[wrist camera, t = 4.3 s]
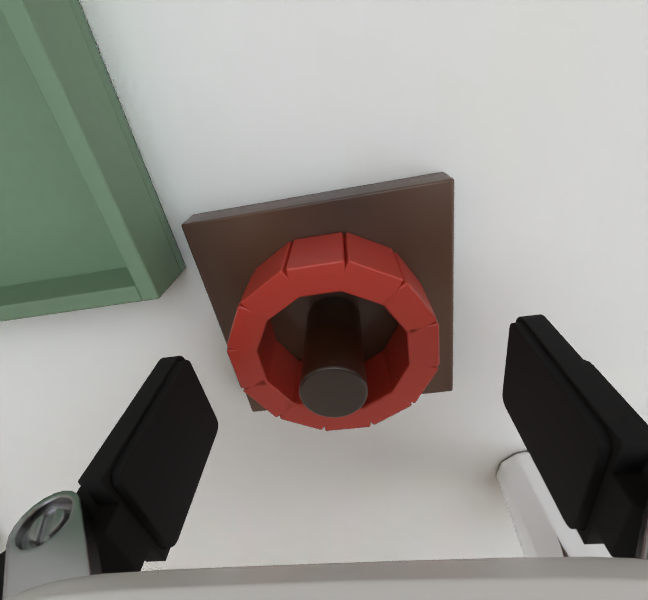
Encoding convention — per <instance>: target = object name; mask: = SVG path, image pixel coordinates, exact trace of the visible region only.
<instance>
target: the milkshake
mask: <svg viewBox="0 0 648 600" xmlns="http://www.w3.org/2000/svg"><path fill="white" fill-rule="evenodd" d="M497 478H498V481H499V484H500V487H501V490H502V493H503V496H504V499H505V502H506V505H507V508H508V511H509V514H510V517H511V520H512V523H513V526H514V529H515V532H516V534H517V537H518V540H519V543H520V546H521V549H522V552H523V555H524V558H525V557H612V556H611V555H610V554H609V552H608V550H607V548H606V547H605V545H604V544H586V545H584V543H583V541H582V539H581V537H580V535H579V534H578V532H577V530H576V529H570V528H569V527H568V526H567V525H566V523H565V521H564V520H563V518H562V516H561V514H560V512H559V510H558V508H557V506H556V504H555V502H554V500H553V498H552V496H551V494H550V492H549V490H548V489H547V487H546V485H545V483H544V481H543V479H542V477H541V475H540V473H539V471H538V469H537V467H536V465H535V463H534V461H533V459H532V458H531V456H530V454H529V452H522V453H516V454H515V455H513V456H511V457H510V458H508V459H507V460H505V461H503V462H502V463H501V465H500V467H499V470H498V472H497ZM612 558H614V557H612Z"/></svg>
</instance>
